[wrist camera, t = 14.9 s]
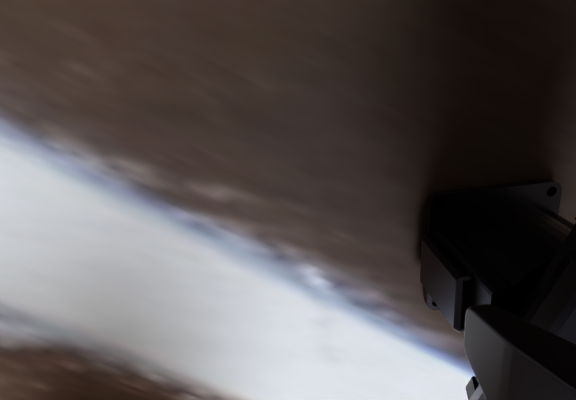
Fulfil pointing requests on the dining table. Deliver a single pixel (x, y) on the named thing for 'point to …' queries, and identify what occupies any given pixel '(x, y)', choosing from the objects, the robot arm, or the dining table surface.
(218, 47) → the dining table surface
